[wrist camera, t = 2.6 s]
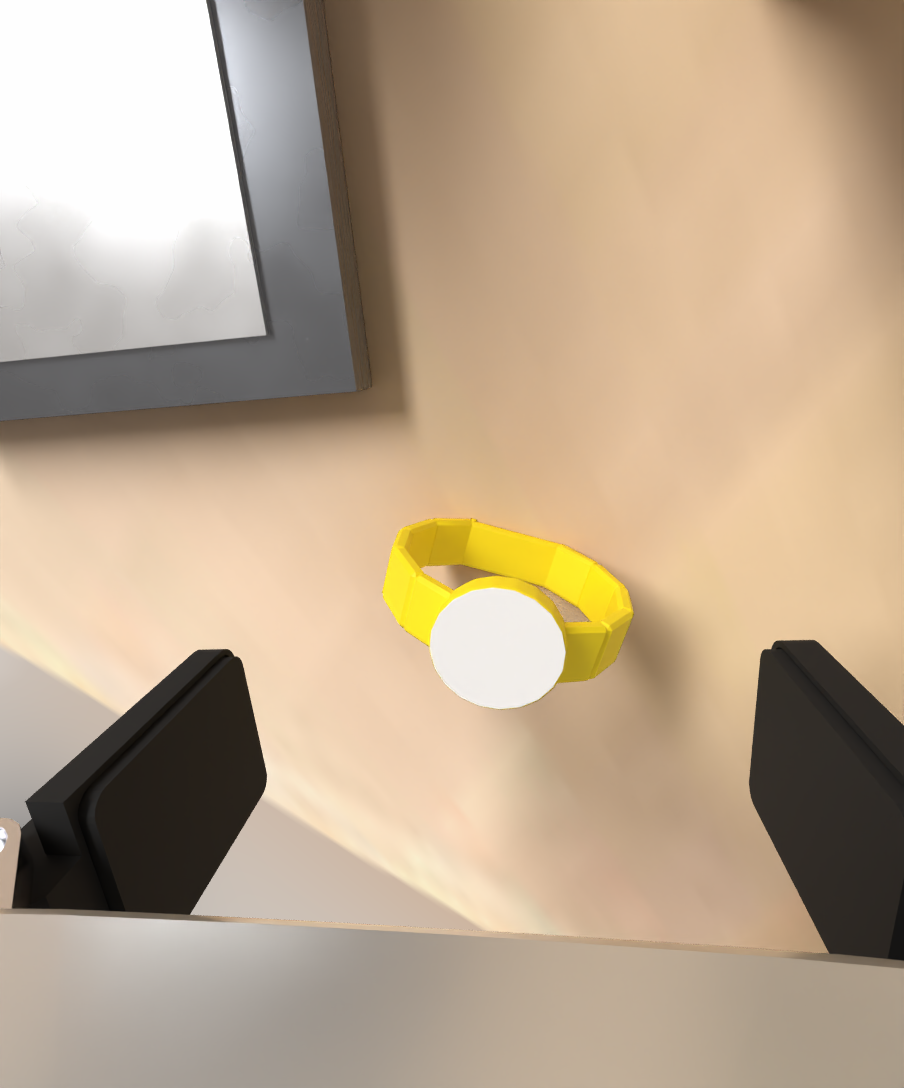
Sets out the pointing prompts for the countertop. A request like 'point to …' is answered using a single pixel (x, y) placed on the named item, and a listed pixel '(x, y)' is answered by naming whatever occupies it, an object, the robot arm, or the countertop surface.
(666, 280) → the countertop surface
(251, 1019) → the robot arm
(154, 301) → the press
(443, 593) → the watch
